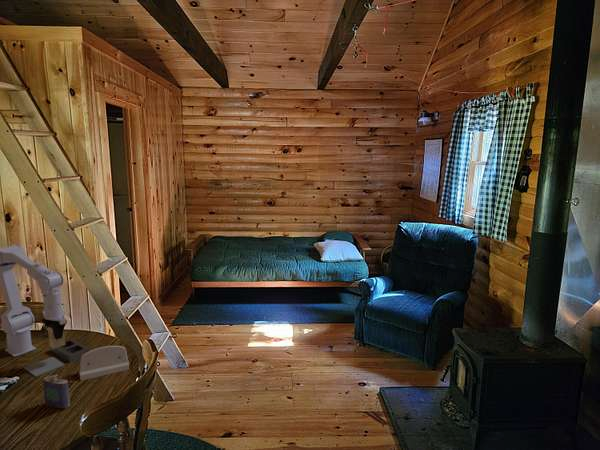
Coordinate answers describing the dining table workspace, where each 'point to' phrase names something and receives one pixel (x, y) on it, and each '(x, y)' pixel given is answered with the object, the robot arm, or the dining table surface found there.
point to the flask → (56, 392)
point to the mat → (44, 366)
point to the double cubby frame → (71, 350)
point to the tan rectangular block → (53, 341)
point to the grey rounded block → (103, 362)
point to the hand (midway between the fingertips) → (56, 336)
